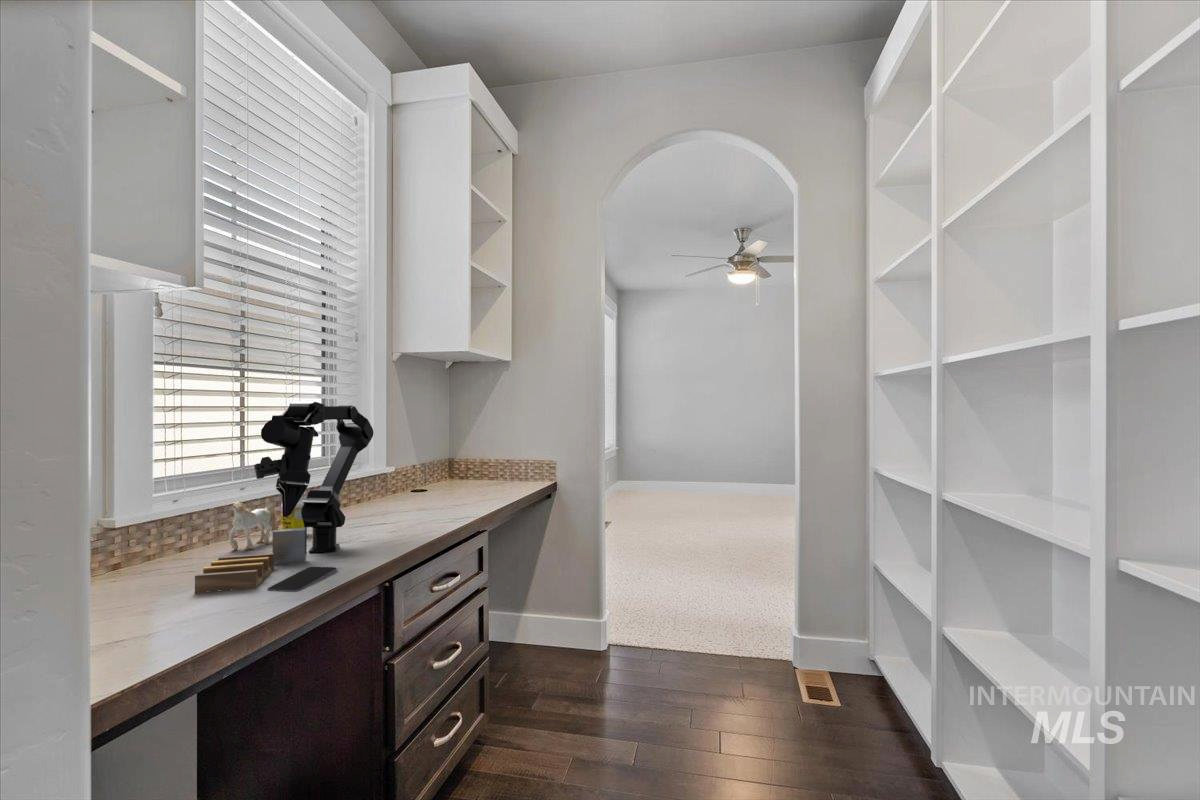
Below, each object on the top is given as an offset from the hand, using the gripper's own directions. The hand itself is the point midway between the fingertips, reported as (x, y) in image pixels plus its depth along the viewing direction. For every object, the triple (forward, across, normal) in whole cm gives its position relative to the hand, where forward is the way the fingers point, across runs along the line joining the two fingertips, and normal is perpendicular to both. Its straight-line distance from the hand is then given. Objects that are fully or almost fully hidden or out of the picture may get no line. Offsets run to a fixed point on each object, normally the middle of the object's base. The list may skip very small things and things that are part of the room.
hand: (286, 516), depth 135 cm
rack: (+14, +4, -8) cm, 17 cm away
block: (+11, -5, +3) cm, 12 cm away
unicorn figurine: (+8, -25, -4) cm, 27 cm away
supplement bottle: (+4, -35, +4) cm, 36 cm away
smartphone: (+15, +11, +5) cm, 19 cm away
